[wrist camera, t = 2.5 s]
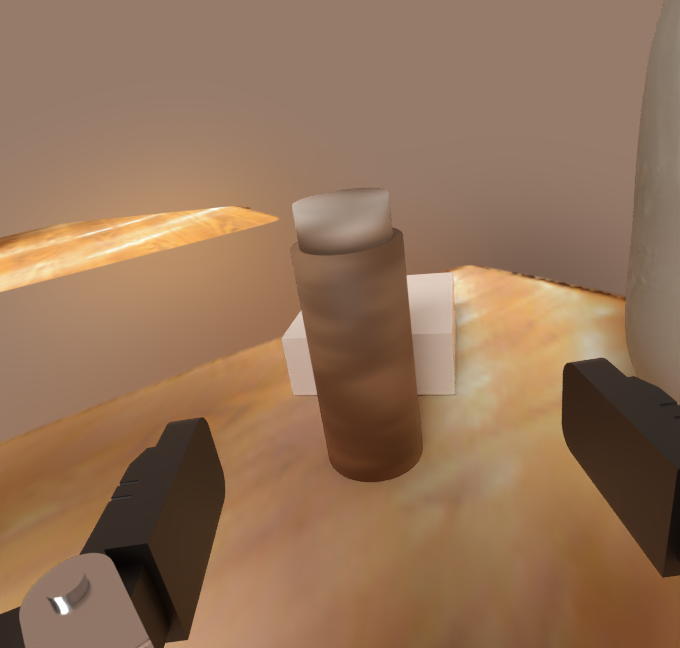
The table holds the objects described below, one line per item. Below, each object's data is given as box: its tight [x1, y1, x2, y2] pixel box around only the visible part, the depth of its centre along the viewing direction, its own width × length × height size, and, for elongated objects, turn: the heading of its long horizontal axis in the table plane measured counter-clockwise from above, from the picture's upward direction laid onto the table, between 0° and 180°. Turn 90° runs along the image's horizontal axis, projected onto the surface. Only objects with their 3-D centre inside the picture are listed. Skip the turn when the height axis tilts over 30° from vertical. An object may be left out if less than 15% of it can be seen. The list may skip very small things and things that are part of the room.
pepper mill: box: [290, 188, 422, 482], centre depth 23 cm, size 5×5×13 cm
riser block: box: [281, 272, 456, 395], centre depth 34 cm, size 10×10×4 cm
